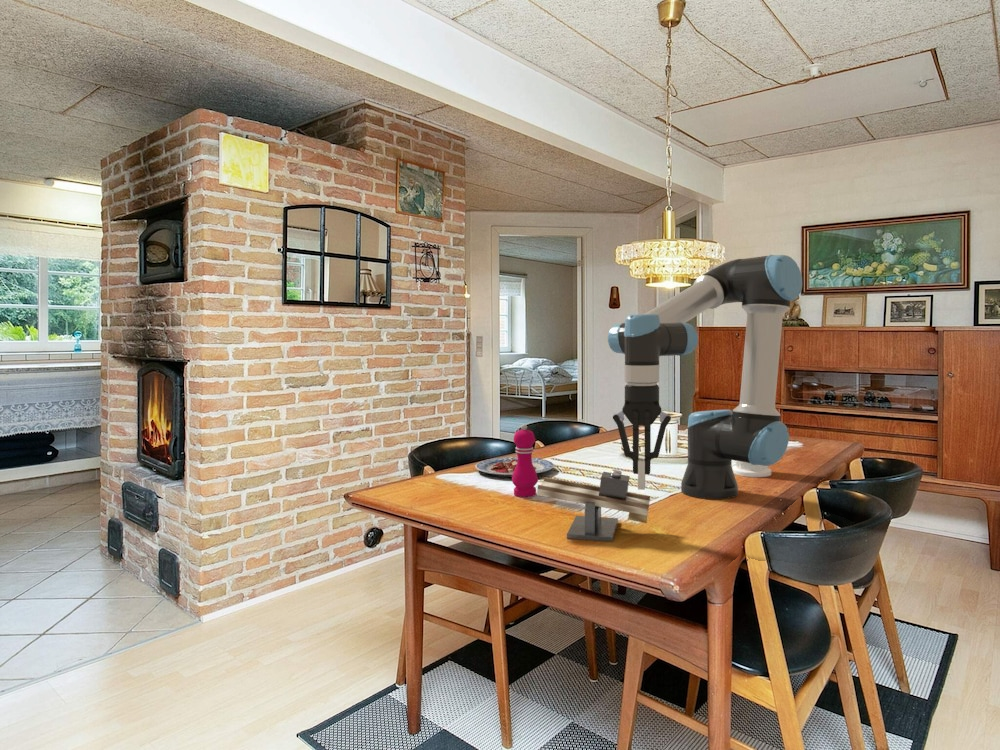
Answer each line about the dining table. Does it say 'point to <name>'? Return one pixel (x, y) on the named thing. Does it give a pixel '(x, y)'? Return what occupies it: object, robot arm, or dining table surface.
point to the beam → (595, 497)
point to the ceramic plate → (510, 466)
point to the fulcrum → (593, 525)
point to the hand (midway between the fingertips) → (641, 487)
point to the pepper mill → (524, 464)
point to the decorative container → (750, 470)
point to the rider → (614, 485)
